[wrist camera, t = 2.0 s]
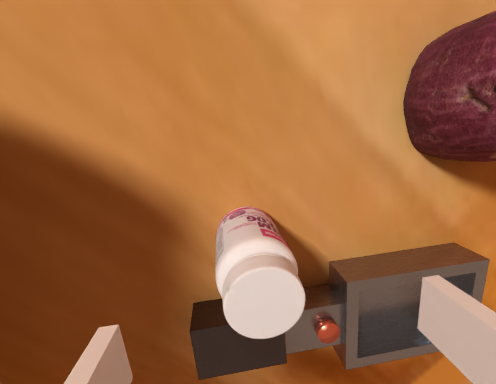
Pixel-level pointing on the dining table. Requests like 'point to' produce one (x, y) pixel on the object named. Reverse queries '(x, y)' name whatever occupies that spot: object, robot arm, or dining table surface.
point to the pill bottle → (257, 275)
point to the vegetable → (455, 94)
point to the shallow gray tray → (345, 313)
